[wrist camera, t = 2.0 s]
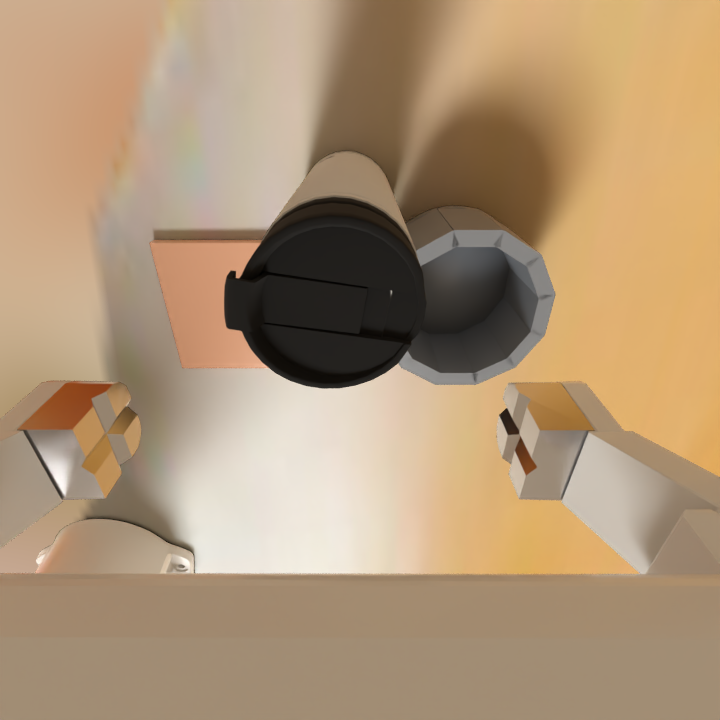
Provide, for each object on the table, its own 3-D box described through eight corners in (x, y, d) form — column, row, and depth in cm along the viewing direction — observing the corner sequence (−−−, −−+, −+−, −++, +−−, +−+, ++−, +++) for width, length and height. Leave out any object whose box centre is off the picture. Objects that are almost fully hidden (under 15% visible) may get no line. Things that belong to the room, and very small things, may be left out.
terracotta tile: (308, 363, 37) (307, 367, 37) (185, 363, 37) (182, 368, 37) (299, 239, 32) (297, 242, 31) (153, 239, 31) (149, 242, 31)
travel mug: (303, 141, 28) (220, 195, 11) (398, 159, 29) (460, 238, 12) (295, 233, 31) (220, 386, 14) (380, 248, 32) (408, 412, 15)
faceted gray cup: (502, 338, 36) (531, 384, 30) (376, 338, 36) (379, 384, 30) (530, 205, 30) (572, 229, 24) (379, 205, 30) (384, 230, 24)
